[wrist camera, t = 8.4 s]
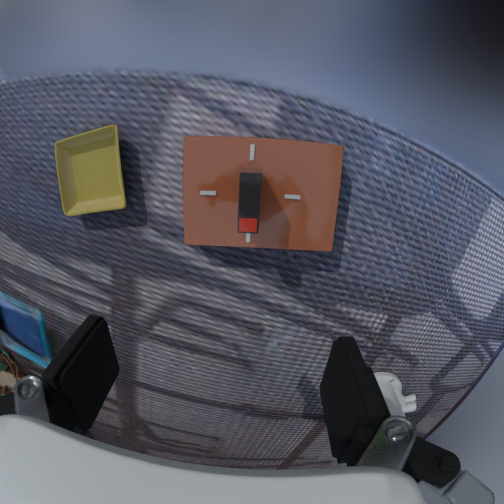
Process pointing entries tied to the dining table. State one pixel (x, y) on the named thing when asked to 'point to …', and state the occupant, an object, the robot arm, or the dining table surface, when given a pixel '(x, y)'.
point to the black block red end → (249, 200)
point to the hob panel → (272, 192)
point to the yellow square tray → (90, 172)
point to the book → (8, 375)
